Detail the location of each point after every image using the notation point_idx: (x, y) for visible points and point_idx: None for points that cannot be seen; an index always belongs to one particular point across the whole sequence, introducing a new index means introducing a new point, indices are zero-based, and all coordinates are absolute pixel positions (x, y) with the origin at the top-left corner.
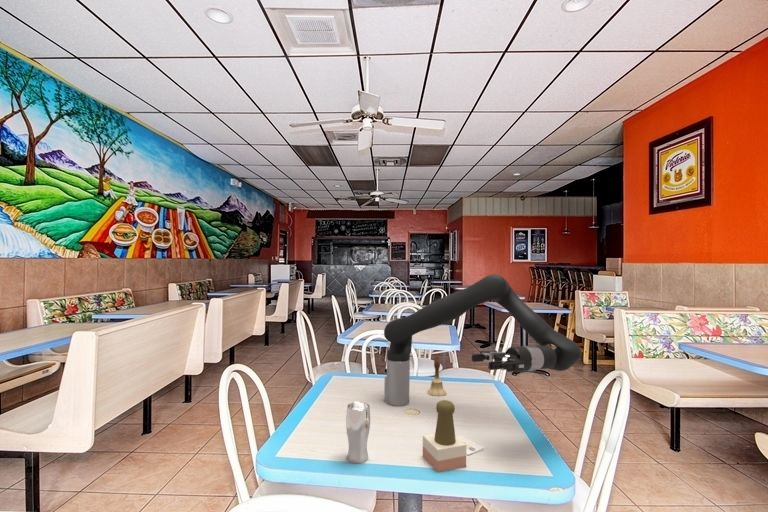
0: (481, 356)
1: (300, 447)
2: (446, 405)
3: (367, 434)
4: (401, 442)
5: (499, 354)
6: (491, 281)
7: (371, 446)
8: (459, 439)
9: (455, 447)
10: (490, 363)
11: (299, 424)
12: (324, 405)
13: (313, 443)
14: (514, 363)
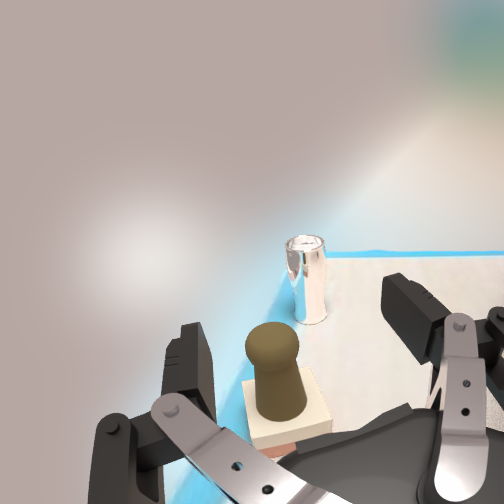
0: (418, 326)
1: (339, 268)
2: (250, 334)
3: (298, 290)
4: (367, 363)
5: (434, 444)
6: None
7: (348, 326)
8: (282, 431)
9: (247, 415)
10: (183, 328)
11: (400, 258)
12: (468, 265)
13: (350, 275)
14: (93, 471)
